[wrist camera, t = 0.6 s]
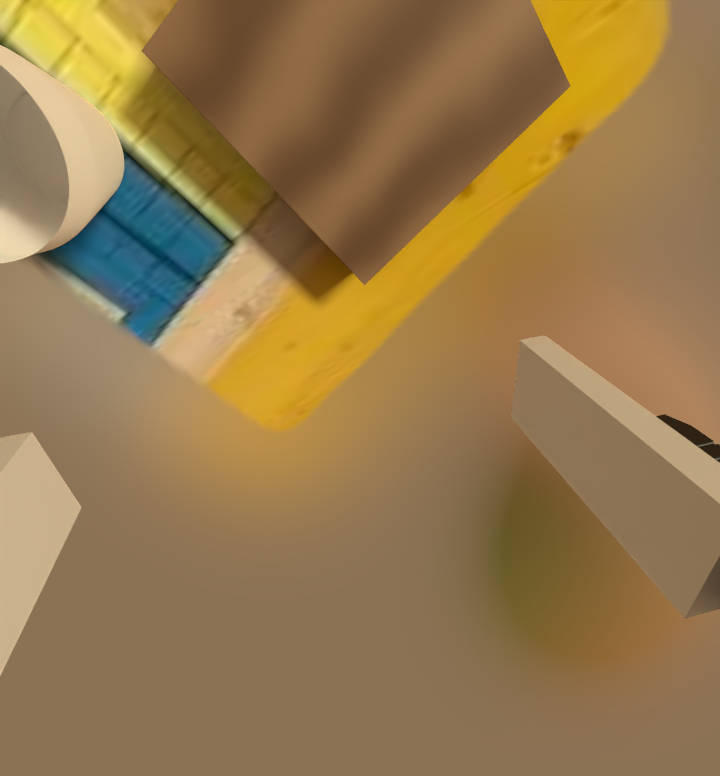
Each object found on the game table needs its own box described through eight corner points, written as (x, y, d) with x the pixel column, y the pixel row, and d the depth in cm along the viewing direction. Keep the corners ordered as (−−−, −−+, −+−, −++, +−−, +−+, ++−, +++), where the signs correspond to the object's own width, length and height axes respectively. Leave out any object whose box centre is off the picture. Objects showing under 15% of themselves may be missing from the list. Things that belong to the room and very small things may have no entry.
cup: (69, 248, 30) (-35, 304, 20) (-54, 114, 25) (-272, 97, 15) (174, 181, 29) (121, 202, 19) (66, 29, 24) (-80, -51, 14)
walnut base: (158, 62, 26) (141, 50, 22) (374, -226, 22) (393, -293, 18) (355, 270, 34) (364, 285, 31) (536, 92, 30) (570, 86, 27)
